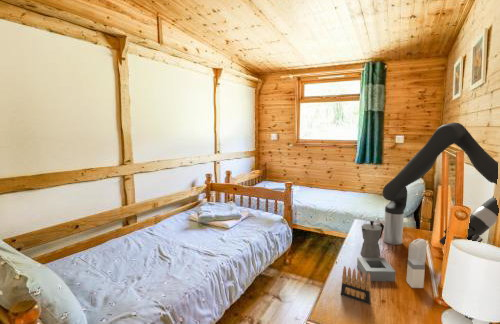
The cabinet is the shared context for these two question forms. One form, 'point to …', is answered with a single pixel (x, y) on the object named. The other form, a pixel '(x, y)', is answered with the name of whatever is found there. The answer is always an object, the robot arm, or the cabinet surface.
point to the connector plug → (415, 273)
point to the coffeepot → (371, 239)
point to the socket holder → (376, 269)
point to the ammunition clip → (356, 286)
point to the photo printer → (418, 250)
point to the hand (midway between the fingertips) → (447, 247)
